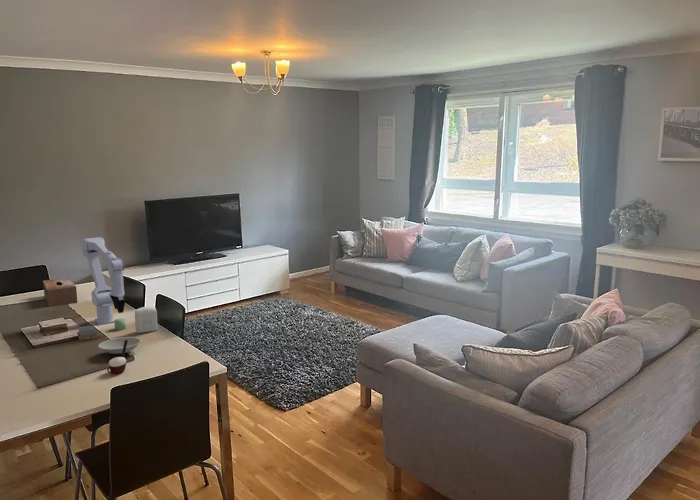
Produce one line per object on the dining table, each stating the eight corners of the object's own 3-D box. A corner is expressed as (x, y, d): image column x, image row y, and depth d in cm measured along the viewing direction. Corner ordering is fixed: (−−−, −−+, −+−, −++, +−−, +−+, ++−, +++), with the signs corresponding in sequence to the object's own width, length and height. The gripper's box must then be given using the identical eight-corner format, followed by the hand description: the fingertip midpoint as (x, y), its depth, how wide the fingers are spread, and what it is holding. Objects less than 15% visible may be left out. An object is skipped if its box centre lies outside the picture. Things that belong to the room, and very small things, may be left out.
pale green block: (114, 328, 267) (113, 319, 266) (124, 326, 270) (124, 317, 269) (116, 331, 263) (115, 322, 262) (126, 329, 266) (126, 320, 265)
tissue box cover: (77, 303, 310) (76, 286, 308) (49, 307, 302) (47, 290, 300) (71, 293, 330) (69, 277, 329) (44, 296, 322) (42, 280, 321)
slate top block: (78, 332, 255) (78, 327, 254) (92, 330, 258) (92, 325, 257) (80, 336, 250) (80, 331, 249) (94, 333, 253) (94, 328, 252)
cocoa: (108, 378, 210) (105, 349, 207) (105, 372, 215) (101, 344, 212) (133, 371, 216) (130, 343, 213) (129, 365, 221) (126, 338, 218)
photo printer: (156, 328, 268) (155, 304, 265) (158, 330, 264) (157, 306, 262) (134, 331, 262) (133, 307, 260) (136, 334, 258) (135, 309, 256)
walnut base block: (77, 337, 255) (76, 332, 255) (93, 334, 259) (92, 329, 258) (79, 341, 249) (79, 336, 249) (95, 338, 253) (95, 333, 253)
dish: (99, 363, 224) (99, 351, 223) (97, 351, 236) (97, 340, 235) (144, 355, 232) (143, 344, 231) (140, 345, 244) (139, 334, 243)
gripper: (105, 282, 266) (107, 308, 268) (111, 288, 254) (113, 315, 256) (120, 280, 270) (122, 306, 272) (127, 286, 258) (129, 313, 260)
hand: (119, 310), depth 265 cm, fingers open, 7 cm apart
